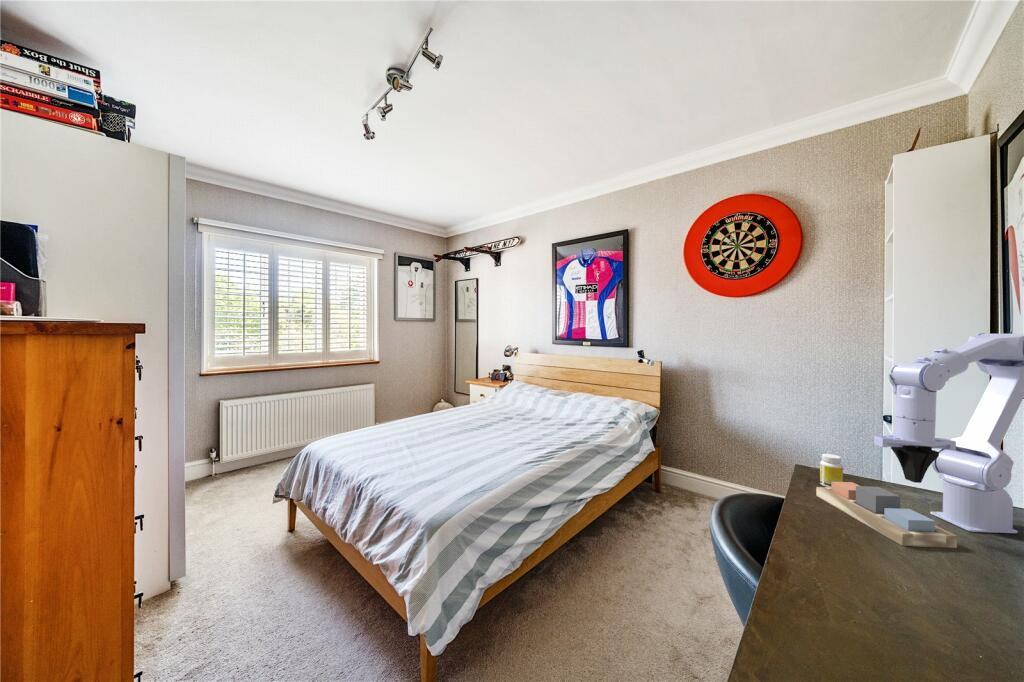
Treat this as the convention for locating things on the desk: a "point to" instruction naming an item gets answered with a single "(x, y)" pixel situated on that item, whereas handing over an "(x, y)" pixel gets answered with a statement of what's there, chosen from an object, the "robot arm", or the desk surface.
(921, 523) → the light blue block
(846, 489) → the button terracotta
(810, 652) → the desk surface
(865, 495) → the grey block
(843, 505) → the board
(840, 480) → the supplement bottle
